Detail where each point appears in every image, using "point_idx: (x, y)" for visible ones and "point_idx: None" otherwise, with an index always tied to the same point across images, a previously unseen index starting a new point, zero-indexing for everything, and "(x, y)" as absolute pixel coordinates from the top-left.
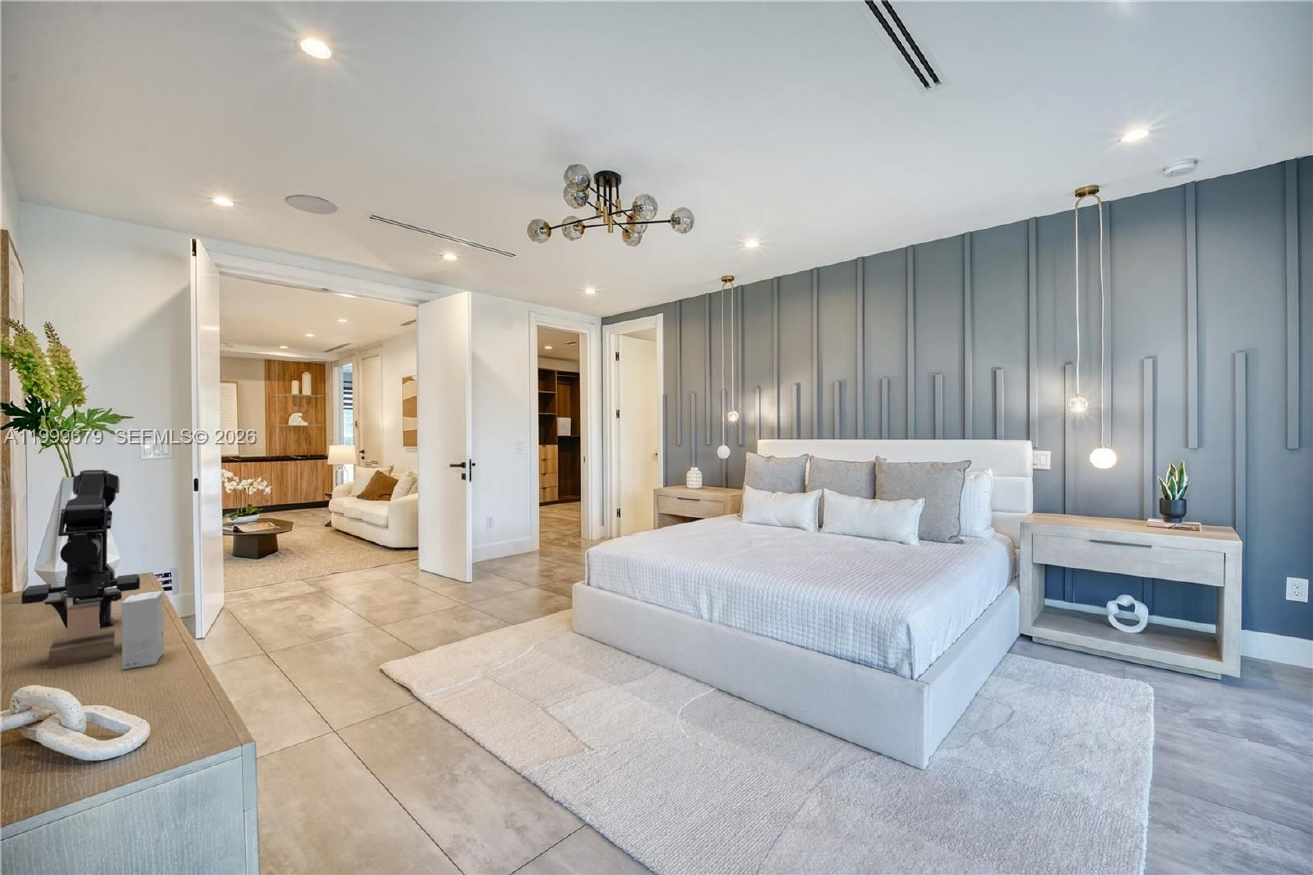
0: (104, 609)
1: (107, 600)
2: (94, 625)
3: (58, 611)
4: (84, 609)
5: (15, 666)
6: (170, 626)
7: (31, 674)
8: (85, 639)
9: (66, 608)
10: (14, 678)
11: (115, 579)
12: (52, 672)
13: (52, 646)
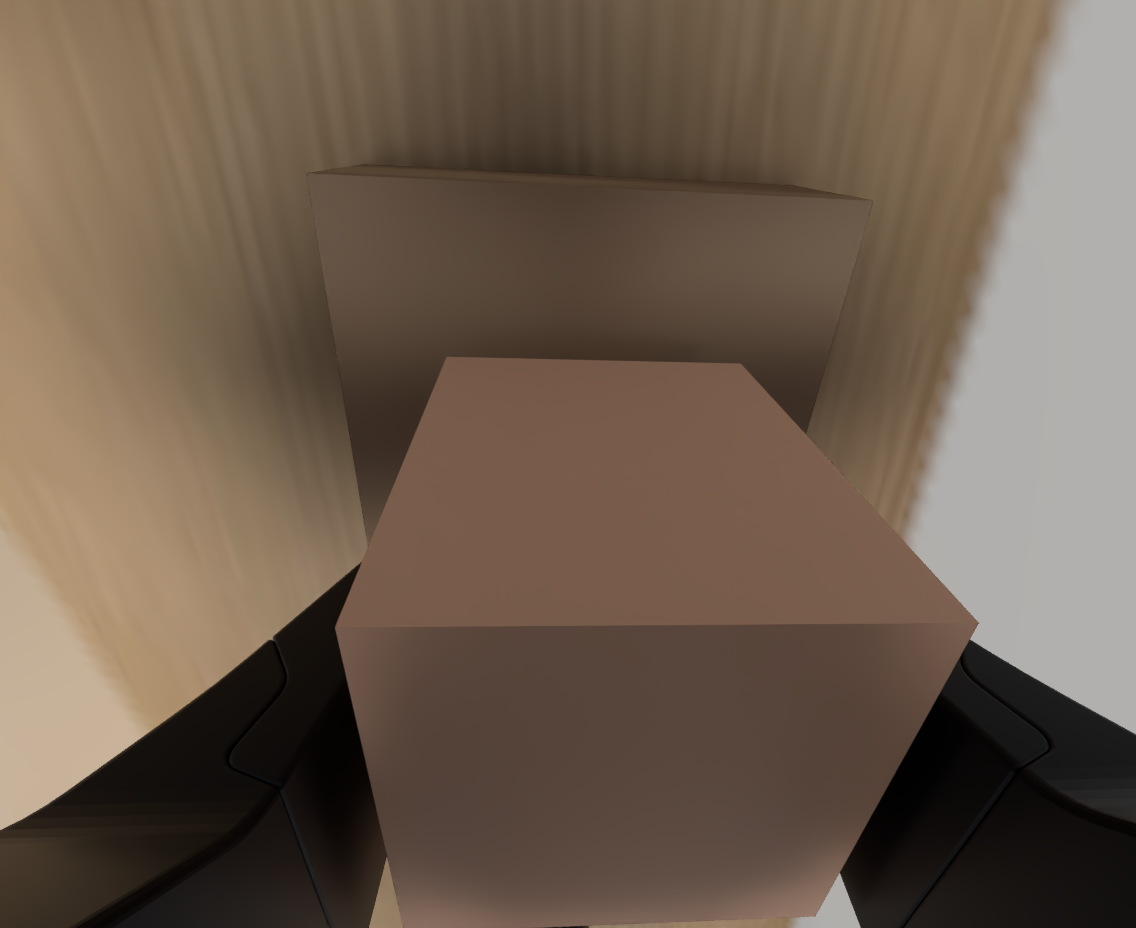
0: (309, 637)
1: (112, 829)
2: (479, 398)
3: (1062, 702)
4: (642, 600)
5: (917, 430)
6: (147, 705)
7: (913, 96)
8: None
9: (898, 807)
10: (1023, 69)
11: None
12: (792, 7)
13: (805, 402)
